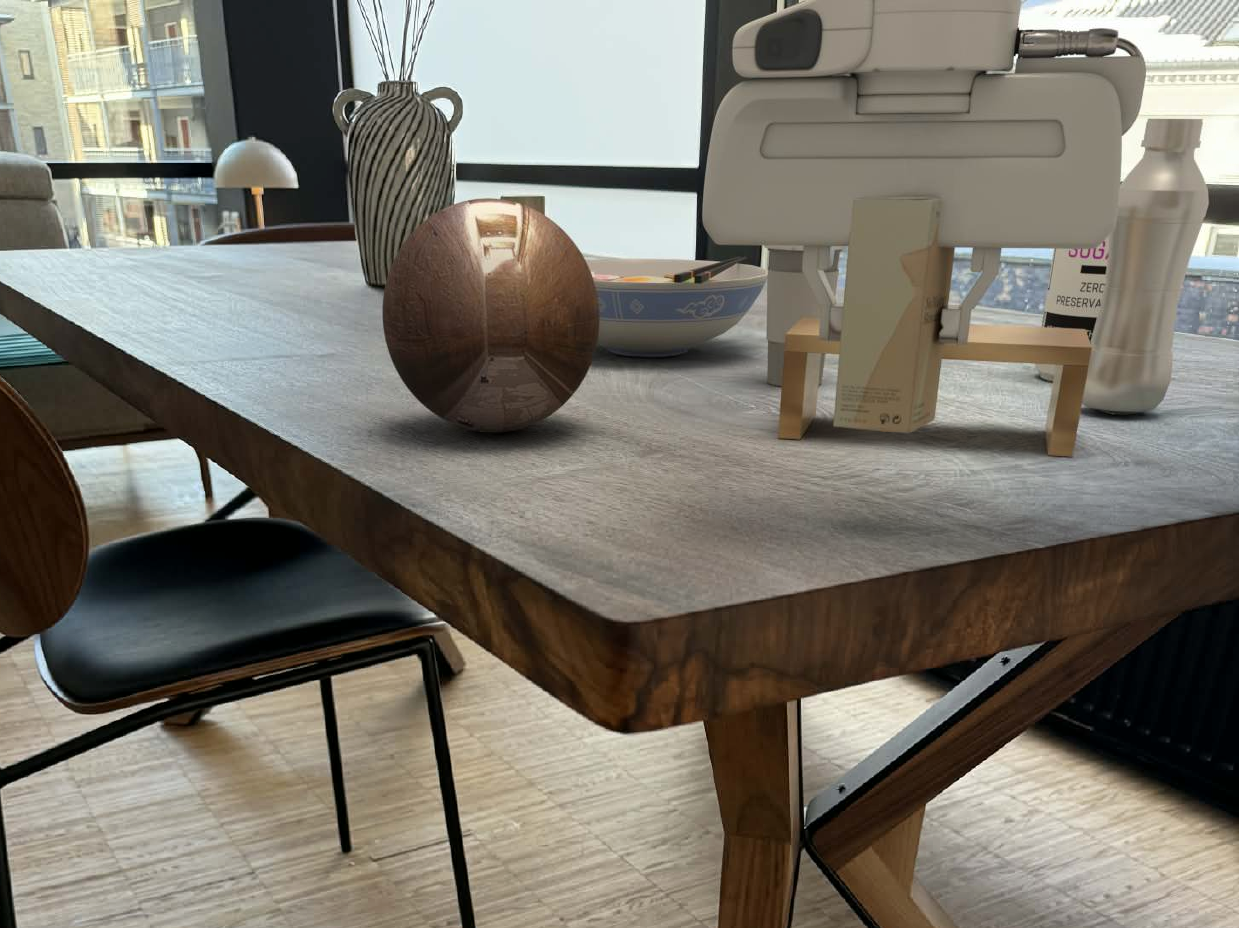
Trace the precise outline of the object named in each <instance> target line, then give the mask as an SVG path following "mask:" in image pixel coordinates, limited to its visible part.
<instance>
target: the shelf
mask: <svg viewBox="0 0 1239 928" xmlns="http://www.w3.org/2000/svg"><path fill="white" fill-rule="evenodd" d="M819 326H820V318H809V317H803V318H802V319H801V320H800V321H799V322H798V323H796V324H795V325H794V326H793V327H792V328H791V329H790V330H789V331H788V332H787V333H786V336H785V349H784V351H785V352H784V362H783V375H782V386H781V391H780V402H779V403H780V404H779V417H778V430H777V439H782V440H783V439H785V440H799V441H800V440H801V439H802V437H803V436H804V434H805V433H806V431H807V430H808V429H809V427H810V425H811V424H812V422H813V421H814V419H815V418H816V416H817V406H818V405H817V404H818V396H819V395H818V394H819V385H818V383H819V372H820V360H821V353H823V354H825V355H839V352H840V342H829V341H828V342H822V341H819ZM1091 351H1092V346H1091V343H1090V341H1089V338H1088V335H1087V332H1086V330H1085V329H1071V328H1047V327H1041V326H1024V325H1023V326H1021V325H1018V326H1017V325H997V324H976V323H975V324H972V323H970V327H969V335H968V342H967V345H943V354H942V360H951V361H971V362H974V361H975V362H993V363H1010V364H1011V363H1013V364H1034V365H1035V364H1053V365H1056V367H1055V373H1054V379H1053V381H1052V385H1051V392H1050V397H1049V404H1048V410H1047V415H1046V420H1045V428H1044V432H1045V441H1046V449H1047V456H1053V457H1069V458H1072V457H1073V456H1074V450H1075V445H1076V439H1077V435H1078V428H1079V423H1080V418H1081V411H1082V406H1083V404H1082V401H1083V395H1084V390H1085V384H1086V379H1087V373H1088V368H1089V367H1088V366H1089V362H1090V356H1091Z"/></svg>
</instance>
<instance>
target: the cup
mask: <svg viewBox="0 0 1239 928" xmlns="http://www.w3.org/2000/svg"><path fill="white" fill-rule="evenodd" d="M763 248H765V249H767V251H769V261H768V262H769V264H768V265H769V267H768V268H767V269H768V270H767V281H766V337H765V339H766V340H767V375H766V381H767V383H768V384H770V385H772V386H777V387H782V375H783V362H784V352H785V351H784V349H785V336H786V333H787V332H788V331H789V330H790V329H791V328H792V327H793V326H794V325H795V324H796V323H798V322H799V321H800V320H801V319H802V318H803V317H809V318H820V312H821V306H818V304H817V301H816V299H815V297H814V295H813V293H812V291H811V289H810V286H809V284H808V282H807V280H806V278H805V276H804V274H803V272H802V260H803V246H778V245H763ZM846 249H847V246H835V247H834V259H833V265H832V266H831V267H830V268H828V269H827V270H823V271H824V274H825V276H826V278H827V280H828V283H829V285H830V287H831V290H832V292H833V294H834V296H835V297H836V296H837V295H836V294H837V287H838V281H839V280H838V279H839V272H840V269H839V261H840V255H841V253H842V252H843V250H846ZM825 361H826V354H823V353H821V360H820V372H819V383H818V386H821V385H822V381H823V376H824V375H823V374H824V366H825Z"/></svg>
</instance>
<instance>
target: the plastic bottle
mask: <svg viewBox="0 0 1239 928" xmlns="http://www.w3.org/2000/svg"><path fill="white" fill-rule="evenodd" d="M1203 120H1204V119H1203V118H1147V120H1146V124H1145V130H1144V136H1143V139H1142V140H1141V143H1140V147H1141V148H1144V153H1143V155H1142V158H1141V159H1140V160H1139V161H1138V162H1137V164H1136V165H1135V166H1133V168H1132V169H1131V170H1130V171H1129V173H1128V174H1127V175H1126V176H1125V178H1124V179H1123V180H1122V181H1121V182H1120V192H1119V202H1118V211H1117V218H1116V224H1115V228H1114V230H1113V232H1112V233H1111V234H1110V235H1109V251H1108V261H1107V268H1106V275H1105V278H1106V283H1105V285H1104V289H1103V296H1102V301H1101V305H1100V309H1099V312H1098V316H1097V320H1096V323H1095V327H1094V331H1093V334H1092V338H1091V346H1092V351H1091V356H1090V362H1089V366H1088V367H1089V368H1088V373H1087V379H1086V384H1085V390H1084V395H1083V401H1082V406H1085V407H1088V408H1091V409H1094V410H1097V411H1101V412H1103V413H1107V414H1109V413H1113V414H1112V415H1115V414H1125V415H1129V414H1136V413H1143V412H1149V411H1153V410H1155V409H1156V408H1157V407H1158V406H1159V405H1160V404H1161V403H1162V402H1163V401H1164V399H1165V396H1166V394H1167V392H1168V388H1169V386H1170V384H1171V380H1172V371H1173V370H1172V369H1173V351H1172V348H1173V343H1174V334H1175V329H1176V320H1177V313H1178V306H1179V302H1180V297H1181V293H1182V290H1183V289H1182V285H1183V283H1184V282H1185V278H1186V275H1187V270H1188V267H1189V263H1190V261H1191V260H1190V259H1191V257H1192V254H1193V252H1194V248H1195V246H1196V243H1197V240H1198V237H1199V235H1200V232H1201V229H1202V226H1203V224H1204V222H1203V221H1204V219H1205V217H1206V215H1207V211H1208V208H1209V204H1210V202H1209V189H1208V185H1207V184H1206V181H1205V178H1204V175H1203V174H1202V172H1201V169H1200V168H1199V165H1198V163H1197V162H1196V160H1195V150H1196V149H1200V148H1201V144H1202V141H1201V140H1200V139H1201V135H1202V130H1203V124H1204V122H1203Z"/></svg>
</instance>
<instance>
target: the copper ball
mask: <svg viewBox="0 0 1239 928" xmlns="http://www.w3.org/2000/svg"><path fill="white" fill-rule="evenodd" d="M396 253H397V254H396V255H395V257H394V259H393V261H392V264H391V267H390V269H389V271H388V274H387V277H386V281H385V286H384V290H383V297H382V311H381V312H382V327H383V335H384V339H385V343H386V347H387V352H388V355H389V357H390V359H391V362H392V364H393V366H394V368H395V370H396V372H397V374H398V377H400V379H401V381H402V383H403V384H404V386H405V387H406V388H407V390H408V391H409V392H410V393H411V394H412V395H413V396H414V398H415V399H416V400H417V401H418V402H419V403H420V404H421V405H422V406H424V408H426V409H427V410H429V411H430V412H431V413H433V414H434V415H435V416H437V417H439V418H440V419H442V420H443V421H446V422H448V423H449V424H452V425H453V426H456V427H459V428H462V429H466V430H469V431H475V432H480V433H490V434H491V433H492V434H493V433H495V434H496V433H497V434H498V433H506V432H507V433H508V432H514V431H519V430H522V429H526V428H528V427H531V426H533V425H536V424H538V423H539V422H542V421H544V420H545V419H547V418H549V417H550V416H552V415H553V414H554V413H556V412H557V411H558V410H559V409H561V408H562V407H563V406H564V405H565V404H566V403H567V402H568V401H569V400H570V399H571V398H572V397H573V396H574V394H575V393H576V392H577V390H578V389H579V387H580V386H581V385H582V383H583V382H584V379H585V378H586V376H587V374H588V372H589V369H590V368H591V365H592V363H593V360H594V357H595V353H596V350H597V345H598V343H597V341H598V335H599V323H600V314H599V302H598V296H597V291H596V287H595V283H594V280H593V277H592V274H591V271H590V269H589V267H588V265H587V263H586V261H585V260H586V259H585V256H584V255H583V254H582V252H581V250H580V248H579V247H578V246H577V244H576V243H575V242H574V240H573V239H572V238H571V237H570V236H569V235H568V233H567V232H566V231H565V230H564V229H563V228H562V227H560V225H558V224H557V223H556V222H555V221H553V220H552V219H551V218H550V217H548V216H547V215H545V214H544V213H542V212H540V211H538V210H536V209H534V208H533V207H530V206H529V205H525V204H522V203H520V202H516V201H512V200H508V199H503V198H493V197H492V198H491V197H489V198H484V197H483V198H475V199H473V198H472V199H468V200H463V201H460V202H457V203H454V204H451V205H449V206H447V207H444V208H442V209H440V210H439V211H437V212H435V213H433V214H432V215H431V216H429V217H428V218H426V219H425V220H424V221H422V222H421V223H420V224H419V225H418V226H417V227H416V228H415V229H414V230H413V231H412V232H411V233H410V234H409V236H408V237H407V238H406V240H405V241H404V242H403V244H402V245H401V247H400V248H399V250H398V252H396Z"/></svg>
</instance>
